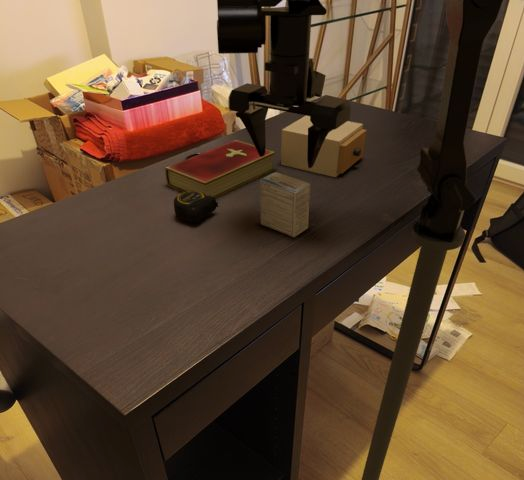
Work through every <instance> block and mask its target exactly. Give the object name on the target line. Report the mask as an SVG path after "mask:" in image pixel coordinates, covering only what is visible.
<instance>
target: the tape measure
mask: <svg viewBox="0 0 524 480" xmlns="http://www.w3.org/2000/svg"><path fill="white" fill-rule="evenodd" d="M218 204H219V202H218V201H217V198H214V197H213V196H206V195H205V194H204V193H202V192H198V191H187V192H181V193H179V194H177V195H176V196H175V197H174V199H173V210H174V214H175V216H176V217H177V218H178V219H180V220H181V221H186V222H192V223H196V222H199V221H200V220H201V219H203V218H204V217H206V216H208V215H209V214H212V213H213V212H214V211H216V209H217V208H218V207H219V205H218Z"/></svg>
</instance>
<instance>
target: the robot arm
mask: <svg viewBox="0 0 524 480" xmlns="http://www.w3.org/2000/svg"><path fill="white" fill-rule="evenodd" d="M282 2H283V0H216V6H217V20H216V34H217V52H218V54H219V55H221V54H222V55H224V54H258V53H259V48H262V47H263V46H265V45H266V43H267V41H266V40H267V39H266V38H267V18H266V17H269V60H268V61H265V62H264V71H267V72H269V73H268V74H269V76H268V77H269V78H268V79H269V82H268V83H269V88H268V89H269V90H268V89H267V88H266V86H265V85H261V84H260V85H259V84H255V83H248V82H247V83H244V84H242V85H240V86H238V87H235V88H233V89H231V90H230V92H229V95H228V97H227V101H228V102H227V103H228V110H229V111H231V112H235V117H236V118H239V119H240V121H241V122H242V124H243V126H244V127H245V129H246V131H247V133H248V135H249V137H250V139H251V141H252V143H253V145H254V146H255V147H256V149H257V151H258V154H259V156H260V157H263V156H264V155H265V149H266V148H267V147H266V144H267V142H266V140H267V138H266V137H267V136H266V119H267V115H268V111H269V110H275V111H276V110H277V111H279V112H286V113H292V114H297V115H302V116H310V121H311V122H312V124H313V125H312V126H311V127H309V128H308V154H307V161H308V168H311V167H313V165H314V163H315V161H316V158H317V156H318V154H319V151H320V149H321V146H322V144H323V142H324V140H325V138H326V136H327V135H328V133H329V132H330V131H332V130H335V129H337V128H338V127H340V126H341V125H343V124H344V123H345V122H347V121H350V120H351V111H352V107H351V104H350V102H349V100H348V99H343V98H337V97H333V96H332V97H331V96H325V97H323V98H322V95H323V91H324V86H325V81H326V77H327V75H326V74H324V73H323V72H320V71H318V70H315V69H314V58H311V57H310V50H311V49H310V48H311V32H312V16H325V15H326V14H327V11H328V10H327V8H326V7H325V6H324V5H323V4H322V2H321V1H320V0H285V4H284V6H278V5H279V4H280V3H282ZM503 2H504V0H445V17H446V24H447V29H448V36H449V37H448V38H449V44H448V51H447V57H446V64H445V69H444V70H445V71H444V76H443V83H442V89H441V96H440V102H439V109H438V115H437V122H436V128H435V135H434V139H433V141H432V143H431V144H430V146H428V147H426V148H425V147H421V148H420V150H419V151H420V153H419V155H420V161H419V164H418V167H417V169H416V171H417V172H418V173H419V174H420V178H421V180H422V182H423V183H424V184H425V186H426V187H427V191H428V192H429V193H430V196H429V197H428V198H427V200H426V202H425V203H424V204H423V205H422V209H421V213H420V216H419V220H418V221H419V226H420V228H419V230H418V232H417V233H418V234H421V235H425V236H429V237H432V238H436V239H440V240H444V241H447V242H452V241H453V240H454V238H455V236H456V235H457V233H458V232H459V230H460V228H461V227H462V225H461V222H462V219H463V216H464V213H465V212H466V211H469V210H470V209H471V208H472V206H473V205H474V204H475V202H476V198H475V197H474V196H473V194H472V193H471V191H470V190H469V189H468V187H467V186H466V185H467V181H468V179H467V178H468V174H467V173H468V161H467V156H466V150H465V149H466V148H465V138H466V134H467V133H466V132H467V127H468V122H469V116H470V112H471V106H472V102H473V97H474V92H475V88H476V87H475V86H476V82H477V76H478V72H479V66H480V62H481V56H482V50H483V46H484V42H485V39H486V38H487V36H488V34H489V33H490V31H491V29H492V28H493V26H494V24H495V23H496V21H497V19H498V17H499V14H500V12H501V8H502V5H503ZM276 6H278V7H276ZM315 97H317V98H322V99H321V100H319V101H317V102H314V101H309V100H308V99H313V98H315Z"/></svg>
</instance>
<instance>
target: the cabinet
mask: <svg viewBox="0 0 524 480" xmlns="http://www.w3.org/2000/svg"><path fill="white" fill-rule="evenodd" d="M312 125H313V124H312V122H311V121H310V116H306V115H303V117H301V118H300V119H298V120H296V121H294V122H292V123H291V124H289V125H287V126H285V127H284V128H282V129H281V147H280V148H281V150H280V151H281V153H280V165H281V166H286V167H289V168H293V169H297V170H302V171H307V172H311V173H315V174H319V175H323V176H326V177H327V176H328V177H331V178H337V177H338V176H339V175H341V173H337V170H338V161H339V151H340V144H341V143H343V142H344V141H345V140H347V139H348V138H349V137H351V136H352V135H353V134H356V133H357V132H358V131H360V130H361V129H363V128H364V123H362V122H361V123H360V122H356V121H350V120H348V121H347V122H345V123H344V124H343V125H341V126H340V127H338V128H337V129H335V130H332V131H330V132H329V133H328V135H327V136H326V138H325V140H324V142H323V144H322V146H321V149H320V151H319V154H318V156H317V158H316V161H315V163H314V165H313V167H311V168H308V161H307V154H308V128H309V127H311V126H312Z"/></svg>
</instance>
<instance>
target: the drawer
mask: <svg viewBox="0 0 524 480" xmlns="http://www.w3.org/2000/svg"><path fill="white" fill-rule="evenodd" d="M366 137H367V129H361V130H360V131H358V132H357V133H356V134H353V135H352V136H351V137H349V138H348V139H347V140H345V141H344V142H343V143H341V144H340V151H339V161H338V170H337V173H340V174H344V173H345V172H346V171H348V170H349V169H350V168H351V167H352V166H353V165H354V164H356V163H357V162H358V161H359V160H360V159H361V158H363V157H364V150H365V144H366Z"/></svg>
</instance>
